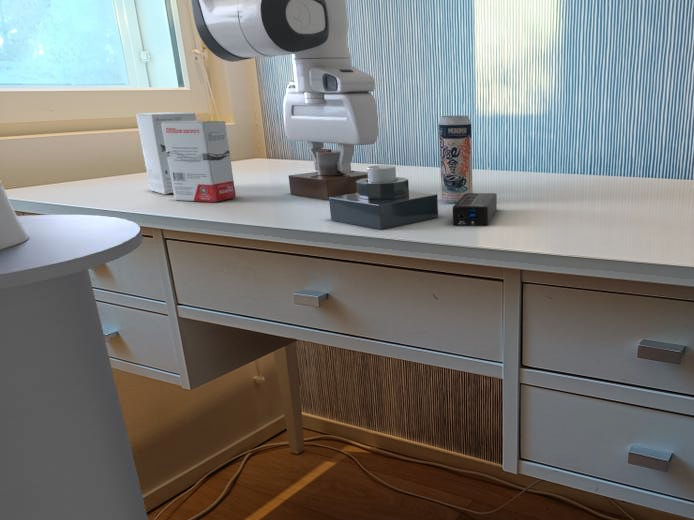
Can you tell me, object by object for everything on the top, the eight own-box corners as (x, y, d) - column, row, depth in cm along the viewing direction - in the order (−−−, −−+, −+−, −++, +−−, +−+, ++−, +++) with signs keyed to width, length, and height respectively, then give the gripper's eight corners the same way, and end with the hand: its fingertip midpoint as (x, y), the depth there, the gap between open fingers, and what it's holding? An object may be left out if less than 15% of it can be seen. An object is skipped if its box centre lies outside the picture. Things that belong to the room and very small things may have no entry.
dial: (351, 173, 111) (349, 149, 109) (328, 176, 108) (325, 151, 107) (336, 171, 114) (334, 147, 112) (313, 174, 111) (310, 149, 110)
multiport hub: (497, 209, 95) (497, 192, 94) (487, 225, 85) (487, 206, 84) (465, 209, 96) (465, 192, 95) (452, 225, 86) (451, 206, 85)
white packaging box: (164, 195, 113) (149, 113, 108) (149, 190, 118) (134, 112, 113) (208, 190, 118) (196, 112, 113) (192, 186, 123) (179, 111, 118)
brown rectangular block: (327, 200, 106) (325, 179, 104) (290, 194, 112) (288, 174, 111) (377, 191, 112) (376, 172, 111) (339, 186, 119) (338, 168, 117)
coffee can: (437, 203, 101) (434, 117, 96) (445, 198, 105) (442, 115, 101) (469, 203, 100) (467, 116, 96) (475, 198, 104) (474, 115, 100)
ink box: (237, 197, 109) (226, 119, 105) (215, 202, 105) (202, 121, 100) (196, 195, 112) (183, 119, 108) (173, 200, 108) (158, 121, 103)
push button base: (380, 229, 84) (377, 188, 82) (330, 220, 90) (327, 181, 88) (438, 217, 91) (437, 178, 89) (388, 209, 97) (385, 173, 95)
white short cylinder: (380, 186, 86) (379, 169, 86) (362, 183, 89) (361, 167, 88) (402, 182, 89) (401, 166, 88) (383, 180, 91) (382, 164, 90)
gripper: (268, 81, 110) (280, 169, 115) (348, 79, 97) (356, 179, 103) (302, 80, 114) (311, 165, 120) (382, 78, 102) (388, 174, 107)
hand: (333, 172), depth 111 cm, fingers closed on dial, 4 cm apart
